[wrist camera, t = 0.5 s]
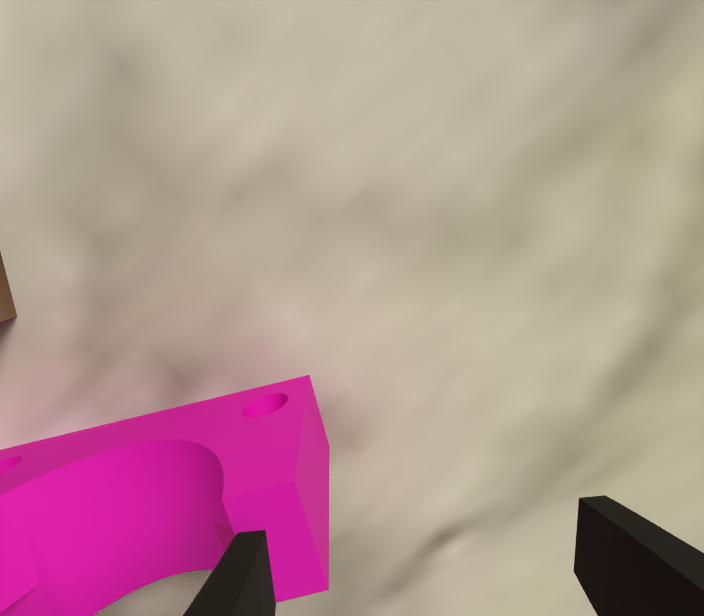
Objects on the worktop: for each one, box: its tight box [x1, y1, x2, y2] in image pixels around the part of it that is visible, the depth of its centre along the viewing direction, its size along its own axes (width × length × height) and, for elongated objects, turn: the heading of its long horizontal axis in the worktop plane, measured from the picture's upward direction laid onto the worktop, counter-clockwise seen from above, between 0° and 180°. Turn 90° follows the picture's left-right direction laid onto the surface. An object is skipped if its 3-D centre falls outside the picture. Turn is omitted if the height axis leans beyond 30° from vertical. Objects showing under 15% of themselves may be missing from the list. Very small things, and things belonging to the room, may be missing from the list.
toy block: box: [0, 375, 329, 616], centre depth 15 cm, size 15×6×8 cm, turn 103°
